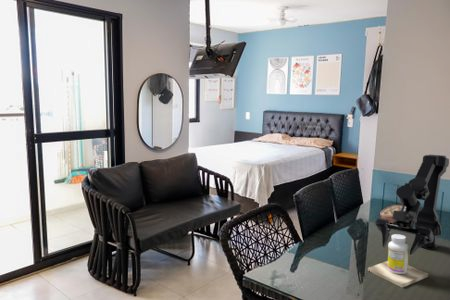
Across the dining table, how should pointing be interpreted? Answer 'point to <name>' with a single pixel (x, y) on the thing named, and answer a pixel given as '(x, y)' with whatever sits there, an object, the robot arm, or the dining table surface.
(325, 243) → the dining table surface
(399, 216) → the robot arm
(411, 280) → the birch board
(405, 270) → the supplement bottle
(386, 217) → the anatomical model
